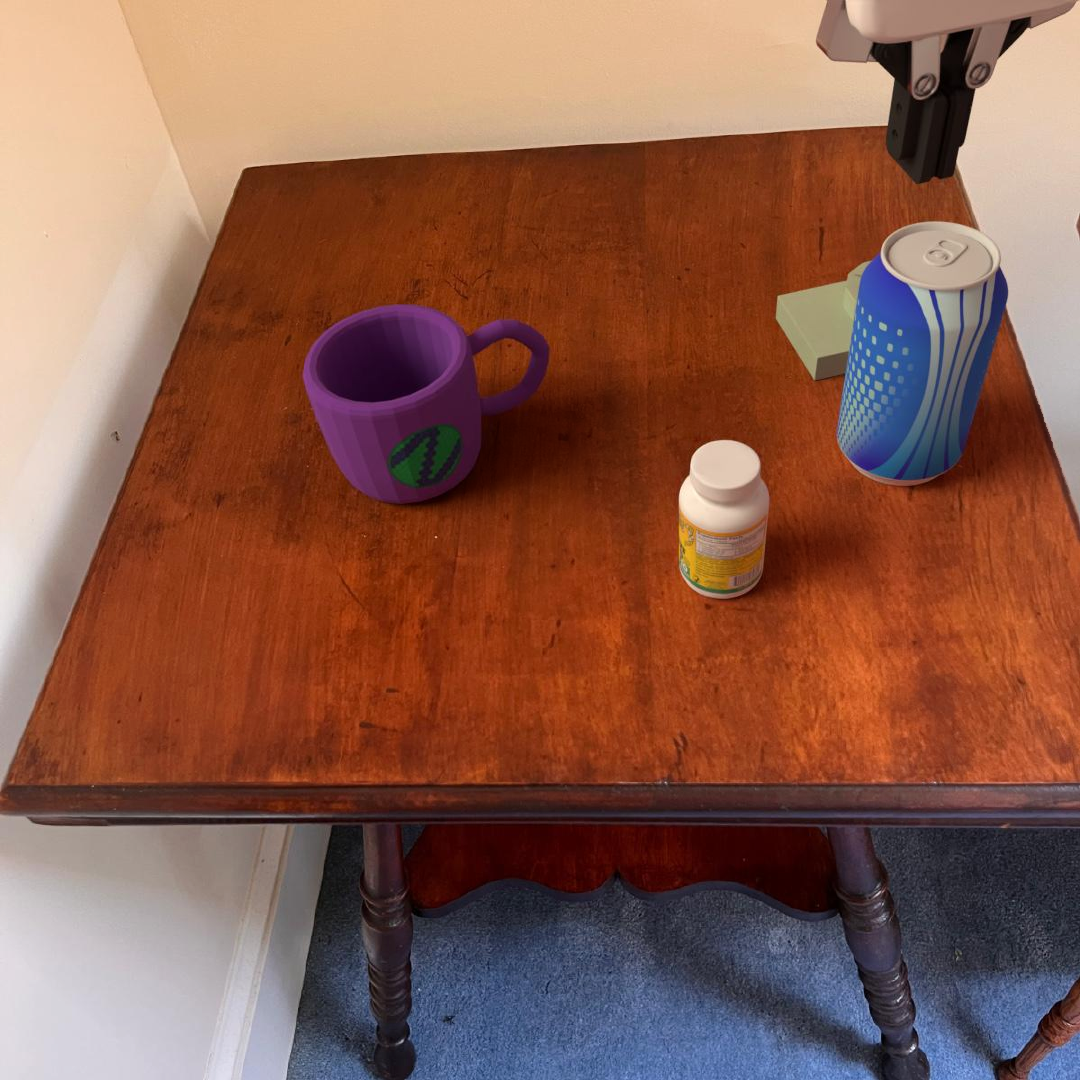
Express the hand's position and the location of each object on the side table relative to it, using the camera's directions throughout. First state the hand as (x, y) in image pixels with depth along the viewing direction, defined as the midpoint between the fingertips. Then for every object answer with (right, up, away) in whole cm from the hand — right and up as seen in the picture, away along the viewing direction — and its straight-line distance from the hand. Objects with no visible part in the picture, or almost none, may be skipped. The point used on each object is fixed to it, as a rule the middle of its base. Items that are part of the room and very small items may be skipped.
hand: (920, 165), depth 47 cm
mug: (-24, -10, +30) cm, 39 cm away
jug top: (+8, -1, +33) cm, 34 cm away
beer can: (+7, -11, +25) cm, 28 cm away
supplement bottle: (-6, -19, +20) cm, 28 cm away
